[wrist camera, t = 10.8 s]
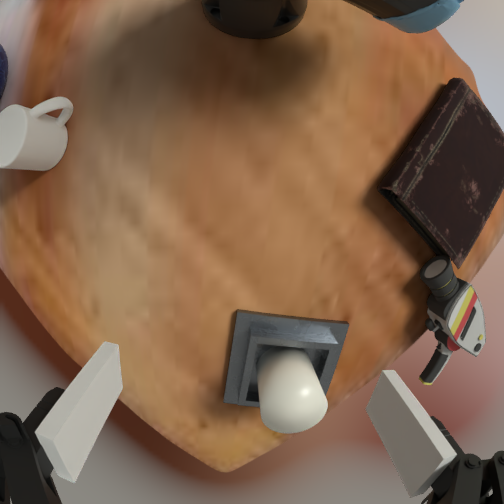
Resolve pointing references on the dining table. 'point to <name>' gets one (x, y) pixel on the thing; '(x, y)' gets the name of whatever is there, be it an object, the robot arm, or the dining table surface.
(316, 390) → the plug
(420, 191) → the diary
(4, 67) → the planter
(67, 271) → the dining table surface
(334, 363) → the grey square tray
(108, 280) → the dining table surface
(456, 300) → the film camera
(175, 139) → the dining table surface
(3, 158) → the mug
